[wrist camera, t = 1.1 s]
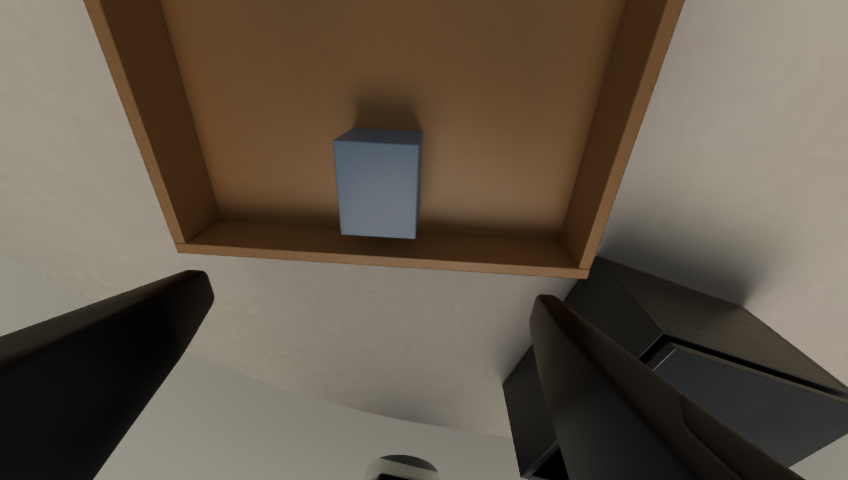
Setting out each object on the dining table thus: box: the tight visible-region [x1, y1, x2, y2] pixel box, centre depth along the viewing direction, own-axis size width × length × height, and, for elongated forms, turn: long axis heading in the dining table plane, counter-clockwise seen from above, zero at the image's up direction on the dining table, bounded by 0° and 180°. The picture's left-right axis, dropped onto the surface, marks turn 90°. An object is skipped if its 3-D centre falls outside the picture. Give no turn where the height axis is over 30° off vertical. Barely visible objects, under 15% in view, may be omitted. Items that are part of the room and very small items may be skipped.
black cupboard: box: [503, 256, 848, 480], centre depth 20 cm, size 13×11×7 cm
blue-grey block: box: [333, 128, 423, 239], centre depth 15 cm, size 4×4×3 cm
